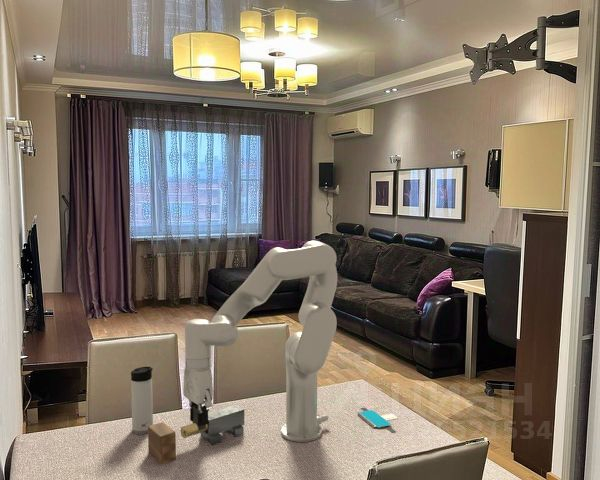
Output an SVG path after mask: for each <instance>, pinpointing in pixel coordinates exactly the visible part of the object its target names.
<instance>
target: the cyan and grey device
mask: <svg viewBox="0 0 600 480" xmlns="http://www.w3.org/2000/svg"><path fill="white" fill-rule="evenodd" d="M360 409H361V410H362V411H360V412H357V416H358V417H359V418H360V419H362V420H363V421H364V422H365V423H366V424H368V425H369V426H370V427H372V428H373V429H375V428H377V429H380V428H381V429H387V431H390V432H391V433H397V431H396V430H395V429H393V428H392V427H391V426H392V423H391V422H389V421H391V420H392V421H393V420H397V419H399V418H398V416H396V415H395V414H393V413H390V414H384V415H380V414H379V413H377V412H376V411H375V410H373V409H367V408H366V407H361V408H360Z"/></svg>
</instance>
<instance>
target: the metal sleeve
mask: <svg viewBox="0 0 600 480" xmlns="http://www.w3.org/2000/svg"><path fill="white" fill-rule="evenodd" d="M244 426H245V409H244V408H243V407H241V406H239V405H238V404H237V403H236V404H232V405H229V406H225V407H222V408H219V409H215V410H212V411H208V431H205V432H202V433H200V438H201V439H203V440H204V441H205V442H207V443H208V444H209V445H211V446H215V445H218V444H221V443H222V433H224V432H226V433H227V434H229V435H230V436H232V437H233V438H238V437H241V436H244V432H245V431H244Z"/></svg>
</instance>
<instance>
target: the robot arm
mask: <svg viewBox="0 0 600 480" xmlns="http://www.w3.org/2000/svg"><path fill="white" fill-rule="evenodd" d="M337 260H338V259H337V253H336V251H335V250H334V247H332V246H330V245H329V244H326V243H324V242H322V241H319V240H310V241H309V240H308V241H307V242H305V243H304V244H303V245H302V247H301V248H294V249H293V248H292V249H286V248H283V247H278V246H277V247H273V248H271V249H270V250H269V251H268V252H266V253H265V255H264V257H263V258H262V259H261V260H260V262H259V263H258V264H257V265H256V267H255V268H253V270H252V272H251V273H250V274H249V275H248V277H247V278H246V279H245V280H244V282H243V283H242V284H241V285H240V286H239V287H238V288H237V289H236V290H235V291H234V292H233V293H232V294H231V295H230V296H229V297H228V298H227V299H226V301H225V302H224V303H223V304H222V306H221V307H220V308H219V310H217V312H216V313H215V314H214V316H213V317H212V319H211V322H210V321H209V320H208V319H205V318H204V319H203V318H194V319H189V320H188V321H186V323H185V325H184V341H185V342H184V351H185V352H184V353H185V354H184V358H185V360H184V361H185V366H184V370H183V387H182V389H183V396H184V397H185V398H186V399H188V401H189V403H188V404H189V405H188V406H189V411H190V412H189V415H190V416H189V417H190V418H189V420H190V422H192V421H193V418H192V407H194V406H198V408H199V413H198V426H202V425H206V424H208V412H210V409H211V408H213V403H212V402H213V399H214V388H213V387H214V385H213V374H212V346H215V347H224V348H225V347H230V346H232V345H234V344H235V343H236V342H237V341H238V339H239V329H238V324H240V322H241V321H242V319H243V318H244V317H245V316H246V315H247V314H248V313H249V312H250V311H251V310H252V309H254V308H255V307H258V306H261V305H262V304H264V303H266V302H267V300H269V298H270V297H271V295H272V293H273V292H274V291H275V290H276V289H277V288H278V286H279V285H280V283H281V282H282V281H289V280H296V279H297V280H298V279H301V278H302V279H303V278H308V277H309V280H308V285H307V287H306V288H307V289H306V292H305V294H304V297H303V300H302V303H301V306H300V308H299V311H298V322H299V323H300V325H301V327H302V331H297V332H294V333H292V334H291V335H290V336H289V337H288V339H287V340H286V342H285V346H284V347H285V348H284V354H285V355H284V357H285V358H284V359H285V370H286V371H285V373H286V377H285V378H286V383H285V384H286V385H285V386H286V388H285V389H286V391H285V392H286V394H285V396H286V397H285V398H286V400H285V401H286V402H285V406H286V407H285V408H286V410H285V414H286V416H285V418H286V419H285V424H284V425H282V427H281V429H280V433H281V436H282V437H283V438H284V439H286V440H289V441H292V442H296V443H307V442H312V441H315V440H317V439H319V438H320V437H321V436H322V435H323V434H322V433H323V430H322V429H323V428H322V427H321V426H320V425H321V424H322V423H324V422H327V421H329V416H328V414H326V413H325V414H323V415H320V414H319V413H318V372H319V371H320V370H321V369H322V368H323V366H324V365H325V363H326V361H327V358H328V355H329V352H330V349H331V346H332V344H333V340H334V337H335V334H336V330H337V323H338V322H337V316H336V314H335V311H333V309H331V308H332V304H333V302H334V297H335V293H336V292H337V291H336V290H337V286H338V271H337V266H336V263H337Z"/></svg>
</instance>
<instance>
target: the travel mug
mask: <svg viewBox="0 0 600 480" xmlns="http://www.w3.org/2000/svg"><path fill="white" fill-rule="evenodd" d="M130 372H131V373H130V380H131V381H130V390H131V391H130V393H131V428H132V429H131V431H132V432H133V434H136V435H145V434H148V426H151V425H154V409H153V408H154V407H153V404H154V403H153V376H152V375H153V374H152V372H153V367H151V366H140V367H136V368H134V369H133V370H131V371H130Z"/></svg>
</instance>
